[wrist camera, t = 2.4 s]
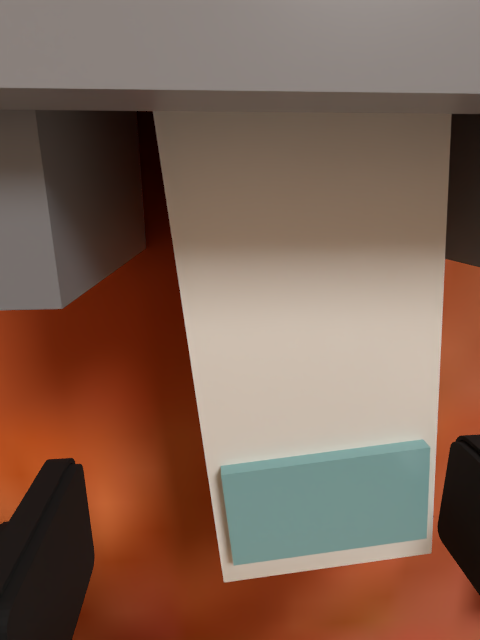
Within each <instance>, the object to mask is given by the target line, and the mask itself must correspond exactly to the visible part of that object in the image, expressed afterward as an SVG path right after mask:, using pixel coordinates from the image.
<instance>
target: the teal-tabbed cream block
mask: <svg viewBox="0 0 480 640" xmlns="http://www.w3.org/2000/svg"><path fill="white" fill-rule="evenodd" d="M153 116H154V123H155V129H156V136H157V143H158V149H159V156H160V163H161V169H162V176H163V182H164V189H165V196H166V202H167V209H168V216H169V222H170V229H171V235H172V242H173V249H174V255H175V262H176V268H177V275H178V282H179V288H180V295H181V302H182V308H183V315H184V321H185V328H186V335H187V341H188V348H189V355H190V361H191V368H192V374H193V381H194V388H195V394H196V401H197V408H198V414H199V421H200V427H201V434H202V441H203V447H204V454H205V461H206V467H207V474H208V480H209V487H210V494H211V500H212V507H213V514H214V520H215V527H216V533H217V540H218V547H219V553H220V560H221V567H222V573H223V580H224V582H231V581H239V580H246V579H253V578H260V577H267V576H274V575H281V574H288V573H295V572H302V571H309V570H316V569H323V568H330V567H337V566H344V565H352V564H359V563H366V562H373V561H380V560H387V559H394V558H401V557H408V556H415V555H422V554H429V553H431V551H432V529H433V507H434V486H435V464H436V442H437V420H438V399H439V377H440V355H441V333H442V312H443V290H444V268H445V246H446V225H447V203H448V181H449V159H450V138H451V116H452V114H427V113H315V112H202V111H153Z"/></svg>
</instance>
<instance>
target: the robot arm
mask: <svg viewBox="0 0 480 640" xmlns="http://www.w3.org/2000/svg"><path fill="white" fill-rule="evenodd" d="M438 533H439V537H440V539H441V541H442V543H443V544H444V545H445V547H446V548H447V550H448V551H449V552H450V554H451V555H452V557H453V558H454V560H455V561H456V562H457V564H458V565H459V567H460V568H461V569H462V571H463V572H464V574H465V575H466V576H467V578H468V579H469V581H470V582H471V584H472V585H473V586H474V588H475V589H476V591H477V592H478V593H479V595H480V435H465V436H459V437H458V438H457V439H456V442H453V443H452V444H451V447H450V452H449V458H448V465H447V471H446V477H445V483H444V489H443V495H442V502H441V508H440V514H439V520H438ZM93 566H94V546H93V539H92V531H91V524H90V516H89V509H88V501H87V494H86V486H85V479H84V472H83V466H82V465H81V464H75V461H74V459H73V458H66V459H49V460H47V461H46V462H45V463H44V465H43V466H42V468H41V470H40V471H39V473H38V475H37V476H36V478H35V480H34V481H33V483H32V485H31V486H30V488H29V489H28V491H27V493H26V494H25V496H24V498H23V499H22V501H21V503H20V504H19V506H18V507H17V509H16V511H15V512H14V514H13V516H12V517H11V519H10V521H9V522H3V523H2V524H0V640H72V637H73V634H74V630H75V627H76V624H77V620H78V617H79V614H80V611H81V607H82V604H83V601H84V597H85V594H86V591H87V587H88V584H89V581H90V577H91V574H92V570H93Z"/></svg>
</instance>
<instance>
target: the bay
mask: <svg viewBox="0 0 480 640" xmlns="http://www.w3.org/2000/svg"><path fill="white" fill-rule="evenodd" d="M137 111H202V112H315V113H427V114H452V116H451V138H450V159H449V181H448V203H447V225H446V246H445V259H449V260H453V261H457V262H461V263H465V264H469V265H473V266H478V267H480V0H0V310H36V309H63V308H64V307H65V306H67V305H68V304H70V303H71V302H72V301H74V300H75V299H77V298H78V297H79V296H81V295H82V294H83V293H85V292H86V291H88V290H89V289H90V288H92V287H93V286H95V285H96V284H97V283H99V282H100V281H102V280H103V279H104V278H106V277H107V276H108V275H110V274H111V273H113V272H114V271H115V270H117V269H118V268H120V267H121V266H122V265H124V264H125V263H127V262H128V261H129V260H131V259H132V258H133V257H135V256H136V255H138V254H139V253H140V252H142V251H143V250H145V249H146V237H145V223H144V209H143V195H142V181H141V167H140V153H139V138H138V124H137Z"/></svg>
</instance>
